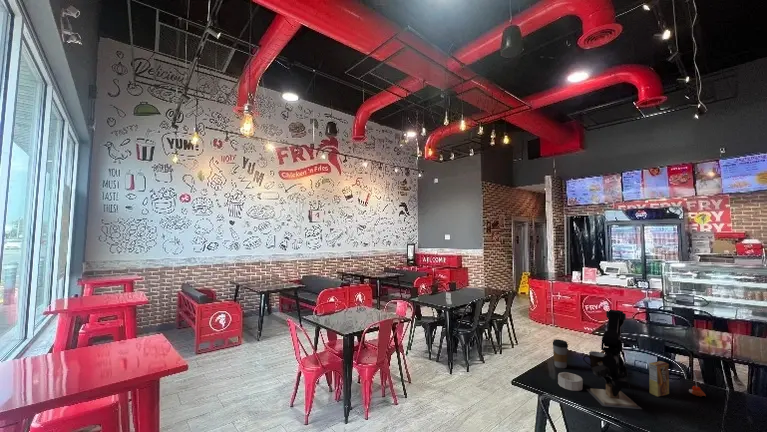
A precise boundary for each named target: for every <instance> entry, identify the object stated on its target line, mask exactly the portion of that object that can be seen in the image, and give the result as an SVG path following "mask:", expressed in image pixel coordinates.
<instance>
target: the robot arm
mask: <svg viewBox="0 0 767 432" xmlns="http://www.w3.org/2000/svg"><path fill="white" fill-rule="evenodd" d="M626 314H627V313H625V312H624V311H623V310H617V309H616V310H615V309H609V310H606V318H607V321H608V326H607V330H606V331H604V333H603V336H601V347H600V348H601V349H600V350H601V351H604V356H603V358H602V362H603V363H602V365H599V366H595V367H592V370H593V371H592V370H591V371H592V373H593V375H595V376H596V377H597V378H602V379H604V381H605V385H606V384H611V385H612V391H613V396H615V397H616V396H617V395H618V393H619V391H621V390H622V389H630V388H631V387H630V385H631V384H630V382H629V381H628V380H626V379H625V378H628V375H629V373H628V368H627V367H626V364H625V361H624V359H623V358H622V356H621V355H622V353H621V352H623V343H624V342H623V341H622V339H621V338H622V333H621V332H622V330H621V329H622V327H623V326H624V325H625V321H626V320H627V315H626Z"/></svg>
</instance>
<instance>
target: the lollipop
mask: <svg viewBox="0 0 767 432" xmlns="http://www.w3.org/2000/svg"><path fill="white" fill-rule="evenodd" d="M693 375H694V381H695V385H693V386H692V387H691V388H690V389H688V392H689V393H690V394H692V395H694V396H696V397H702V396H705V397H706V396H707V395H706V393H705V392H704V391H703V390H702V389H701V387H699V386H698V385H697V384H698V382H699V383H700V384H701V385H702V384H703V383H702V382H701V380H698V379H697V376H696V372H695V371H694V372H693Z"/></svg>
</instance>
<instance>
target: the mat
mask: <svg viewBox="0 0 767 432" xmlns="http://www.w3.org/2000/svg"><path fill="white" fill-rule="evenodd" d="M585 390H586V391H587V392H588V393H589V394H590V395H591V396H592V397H593V398H594V399H595V400H596V401H597V402H598V403H599V404H600V405H601V406H602V407H608V408H609V407H610V408H611V407H612V408H621V409H622V408H623V409H634V410H635V409H636V410H643V408H642V407H641V406H639V405H638V404H637V403H636V402H635V401H634V400H632V401H633V402H634V403H635V404H636V405H637V407H629V406H616V405H604V404H603V403H602V402H601V401H600V400H599V399H598V398H597V397H596V396H595V395H594V394H593V393H592V392H591V391H590V388H585ZM620 391H621V390H620ZM621 392H622V393H623V394H625V393H624V392H623V391H621ZM626 396H627V397H628V398H629V399H631V398H630V397H629V396H628V395H626Z"/></svg>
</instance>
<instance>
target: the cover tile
mask: <svg viewBox="0 0 767 432" xmlns="http://www.w3.org/2000/svg"><path fill="white" fill-rule="evenodd" d="M589 389H590V391H591V392H592V393H593V394H594V395H595V396H596V397H597V398H598V399H599V400H600V401H601V402H602V403H603V404H604V405H616V406H629V407H637V405H638V404H637V403H636V402H635V401H634V400H633V399H632V398H630V397H629V396H628V395H626V394H625V393H624V392H623V391H622V392H623V393H624V394H623V393H622V392H621V390H620V391H619V393H618V395H617V396H616V397H615V396H613V391H612V385H611V384H606V383H605V389H603V388H589ZM627 396H628V397H629V398H630V399H629V398H628V397H627ZM633 401H634V402H635V403H636V404H637V405H636V404H635V403H634V402H633Z"/></svg>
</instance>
